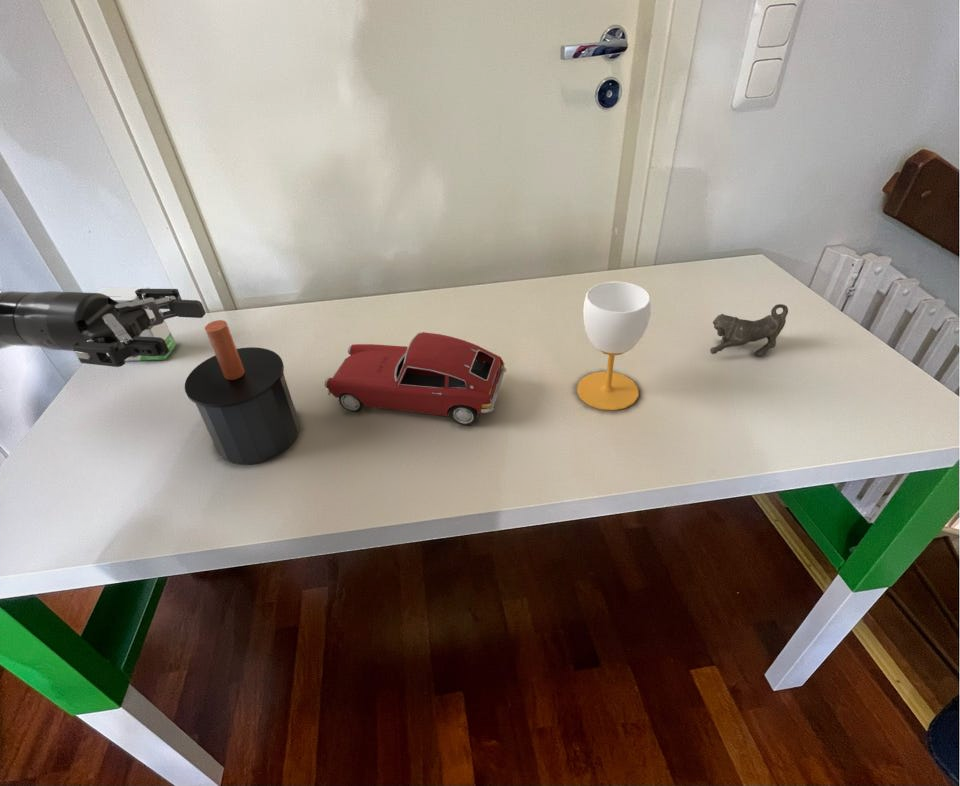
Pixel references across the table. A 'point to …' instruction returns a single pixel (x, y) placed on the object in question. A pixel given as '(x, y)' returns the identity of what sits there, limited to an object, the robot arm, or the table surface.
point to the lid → (232, 371)
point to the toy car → (420, 377)
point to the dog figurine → (749, 330)
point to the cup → (613, 340)
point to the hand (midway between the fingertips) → (184, 327)
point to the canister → (254, 427)
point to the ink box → (155, 331)
